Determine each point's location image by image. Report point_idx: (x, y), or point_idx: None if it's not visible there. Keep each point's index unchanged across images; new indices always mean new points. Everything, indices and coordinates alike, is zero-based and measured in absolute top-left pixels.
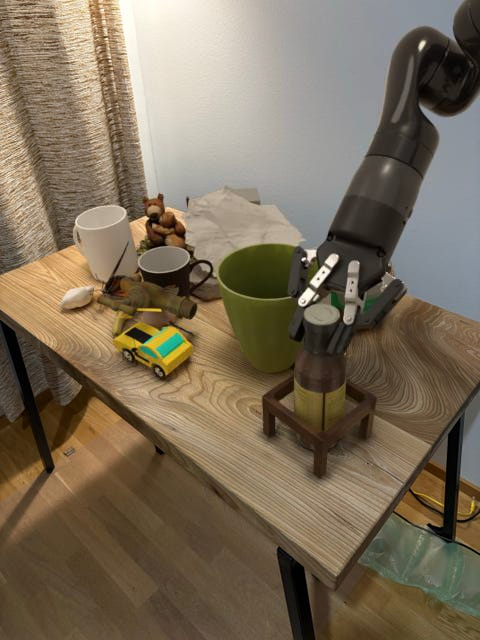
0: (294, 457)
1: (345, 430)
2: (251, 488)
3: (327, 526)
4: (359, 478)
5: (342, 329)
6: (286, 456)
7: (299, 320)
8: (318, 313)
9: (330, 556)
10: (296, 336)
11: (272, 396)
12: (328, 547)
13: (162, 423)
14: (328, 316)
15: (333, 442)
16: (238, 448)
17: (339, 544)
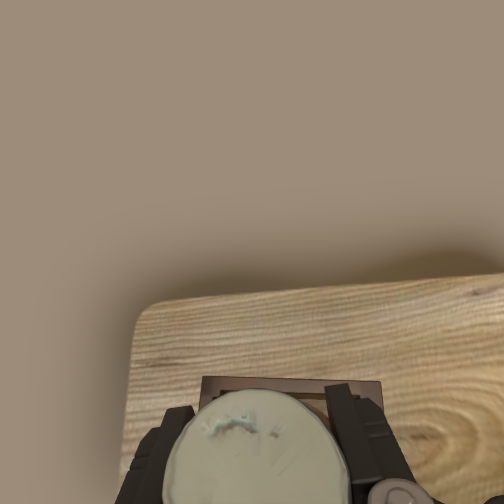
0: None
1: None
2: (291, 308)
3: (174, 340)
4: None
5: (140, 490)
6: None
7: (349, 432)
8: (265, 474)
9: (150, 312)
10: (327, 401)
11: (362, 396)
12: (158, 319)
13: (500, 286)
14: (208, 487)
15: None
16: (366, 344)
17: (149, 332)
